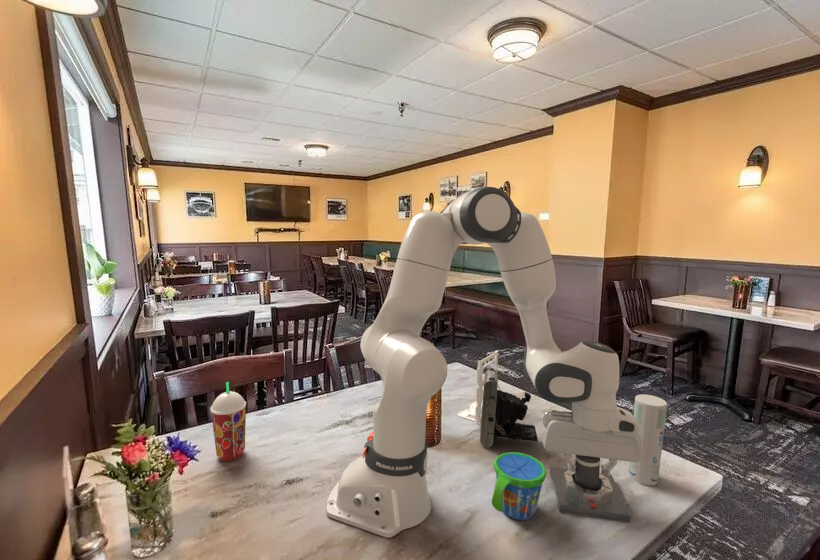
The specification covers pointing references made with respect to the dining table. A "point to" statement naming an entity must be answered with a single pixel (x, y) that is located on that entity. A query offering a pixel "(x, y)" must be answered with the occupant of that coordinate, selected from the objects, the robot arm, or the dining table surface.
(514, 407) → the vintage camera
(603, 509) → the mount plate
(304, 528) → the dining table surface
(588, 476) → the lens
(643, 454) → the spray can
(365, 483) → the robot arm
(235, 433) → the smoothie
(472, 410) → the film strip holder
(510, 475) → the snack cup
